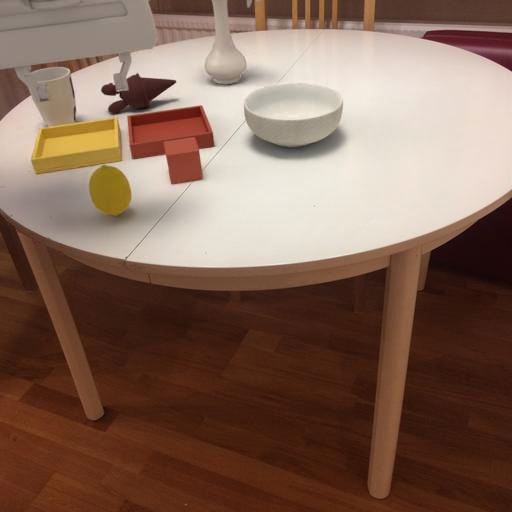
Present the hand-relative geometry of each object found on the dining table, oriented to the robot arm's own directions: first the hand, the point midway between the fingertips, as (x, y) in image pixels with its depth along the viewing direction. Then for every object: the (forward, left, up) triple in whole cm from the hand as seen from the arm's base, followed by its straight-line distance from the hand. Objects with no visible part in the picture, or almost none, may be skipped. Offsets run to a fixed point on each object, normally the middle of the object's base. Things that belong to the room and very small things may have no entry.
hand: (83, 95), depth 64 cm
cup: (-10, +38, -18) cm, 43 cm away
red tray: (+10, +25, -18) cm, 32 cm away
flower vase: (+26, +51, -18) cm, 60 cm away
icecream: (+6, +42, -18) cm, 46 cm away
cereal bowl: (+31, +17, -18) cm, 40 cm away
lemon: (0, +1, -18) cm, 18 cm away
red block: (+11, +10, -18) cm, 23 cm away
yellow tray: (-6, +25, -18) cm, 31 cm away
